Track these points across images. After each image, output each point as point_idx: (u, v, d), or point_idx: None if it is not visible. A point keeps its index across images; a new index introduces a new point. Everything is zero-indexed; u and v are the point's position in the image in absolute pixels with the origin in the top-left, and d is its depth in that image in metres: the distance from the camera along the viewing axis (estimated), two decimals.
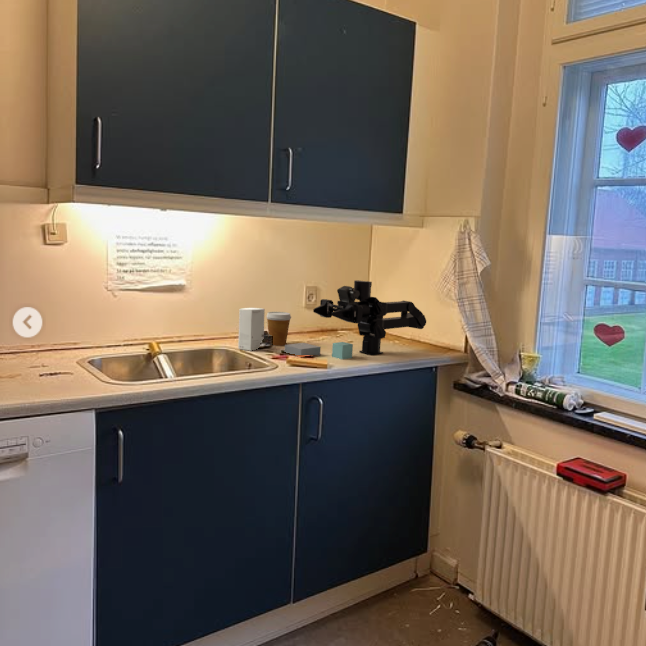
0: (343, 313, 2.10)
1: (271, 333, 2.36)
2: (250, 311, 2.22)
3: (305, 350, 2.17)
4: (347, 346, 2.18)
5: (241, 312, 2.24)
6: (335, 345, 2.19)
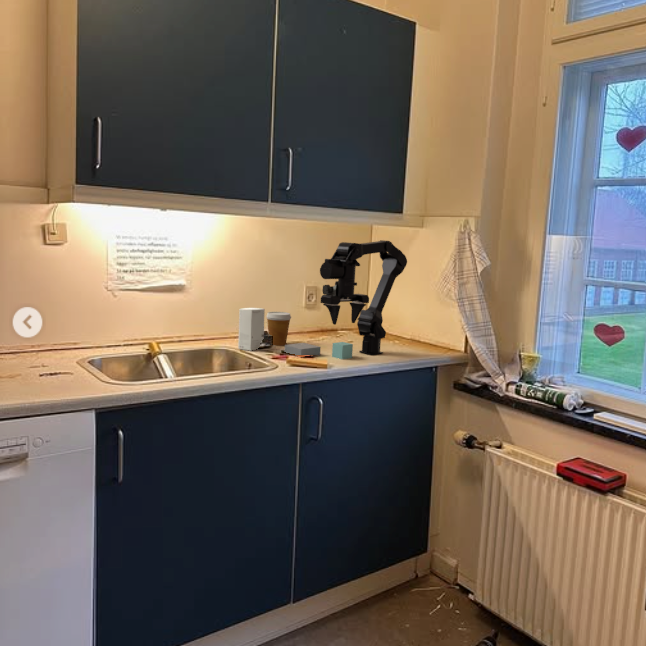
0: (332, 312, 2.15)
1: (271, 333, 2.36)
2: (250, 311, 2.22)
3: (305, 350, 2.17)
4: (347, 346, 2.18)
5: (241, 312, 2.24)
6: (335, 345, 2.19)
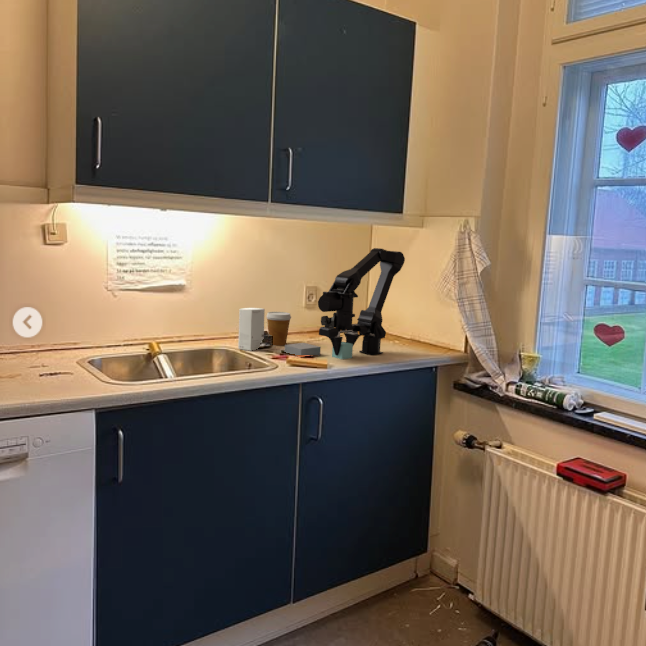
0: (334, 343, 2.18)
1: (271, 333, 2.36)
2: (250, 311, 2.22)
3: (305, 350, 2.17)
4: (347, 346, 2.18)
5: (241, 312, 2.24)
6: None
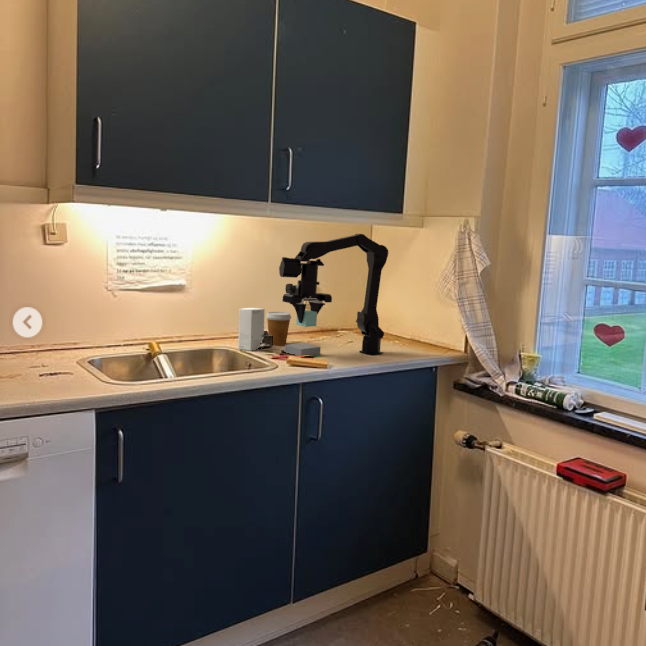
0: (298, 311, 2.17)
1: (271, 333, 2.36)
2: (250, 311, 2.22)
3: (305, 350, 2.17)
4: (311, 313, 2.18)
5: (241, 312, 2.24)
6: None
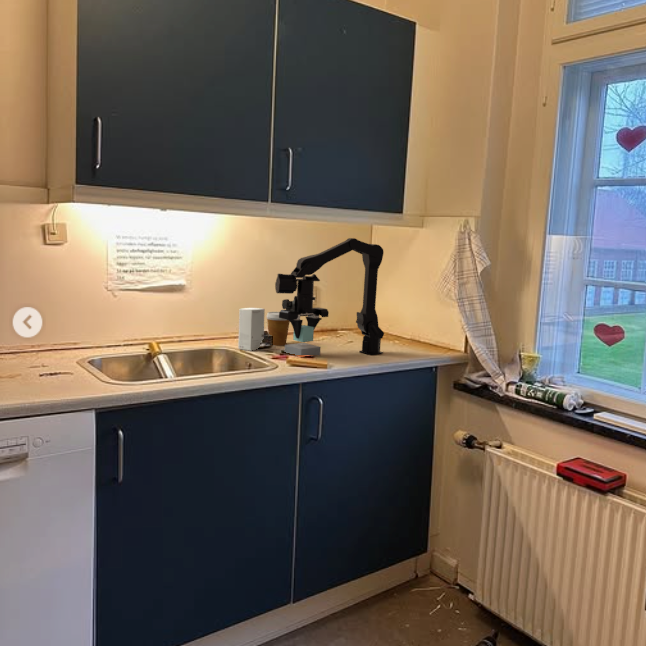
0: (295, 326, 2.19)
1: (271, 333, 2.36)
2: (250, 311, 2.22)
3: (305, 350, 2.17)
4: (308, 329, 2.19)
5: (241, 312, 2.24)
6: None
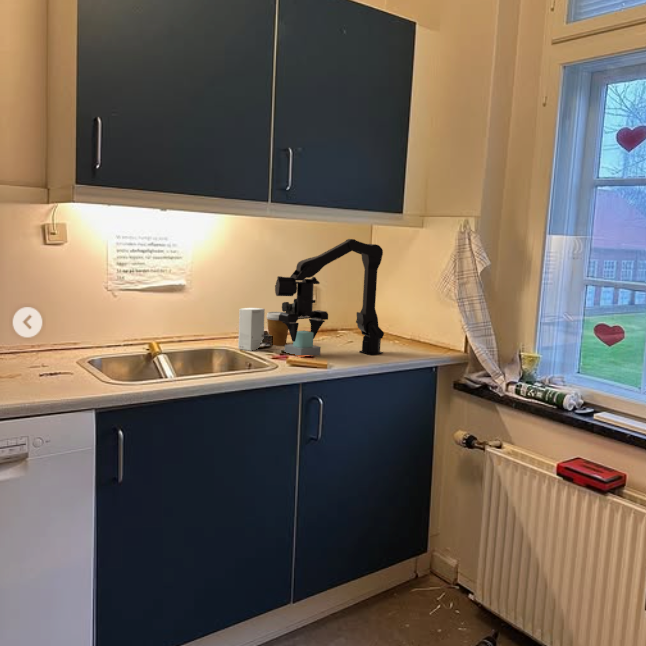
0: (291, 329, 2.18)
1: (271, 333, 2.36)
2: (250, 311, 2.22)
3: (305, 350, 2.17)
4: (307, 334, 2.20)
5: (241, 312, 2.24)
6: None
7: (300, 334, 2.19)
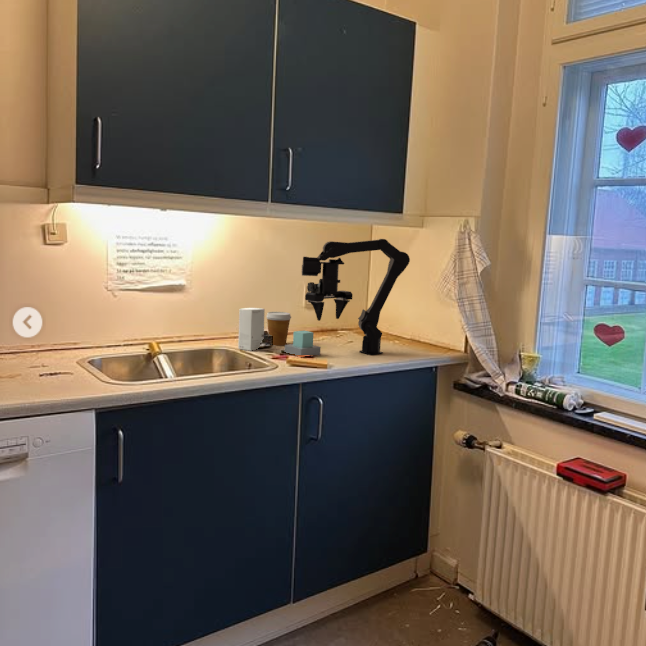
0: (316, 309, 2.23)
1: (271, 333, 2.36)
2: (250, 311, 2.22)
3: (305, 350, 2.17)
4: (307, 334, 2.20)
5: (241, 312, 2.24)
6: (296, 333, 2.21)
7: (300, 334, 2.19)
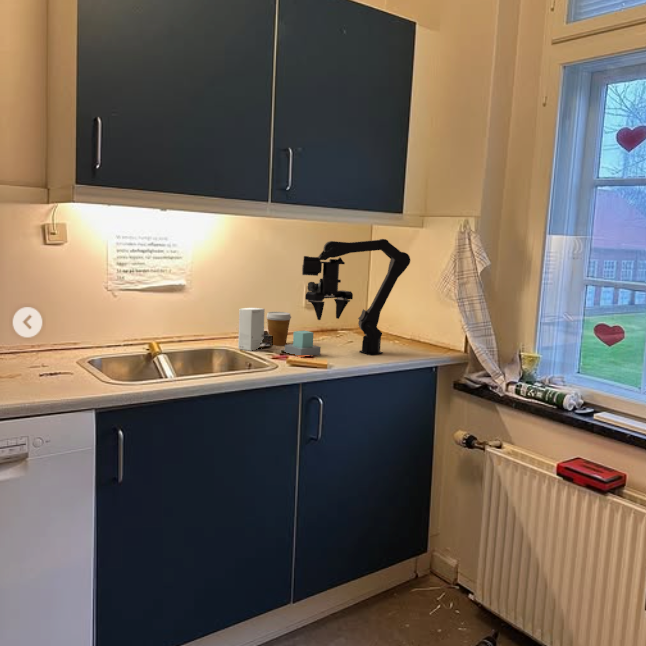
0: (316, 308, 2.23)
1: (271, 333, 2.36)
2: (250, 311, 2.22)
3: (305, 350, 2.17)
4: (307, 334, 2.20)
5: (241, 312, 2.24)
6: (296, 333, 2.21)
7: (300, 334, 2.19)
